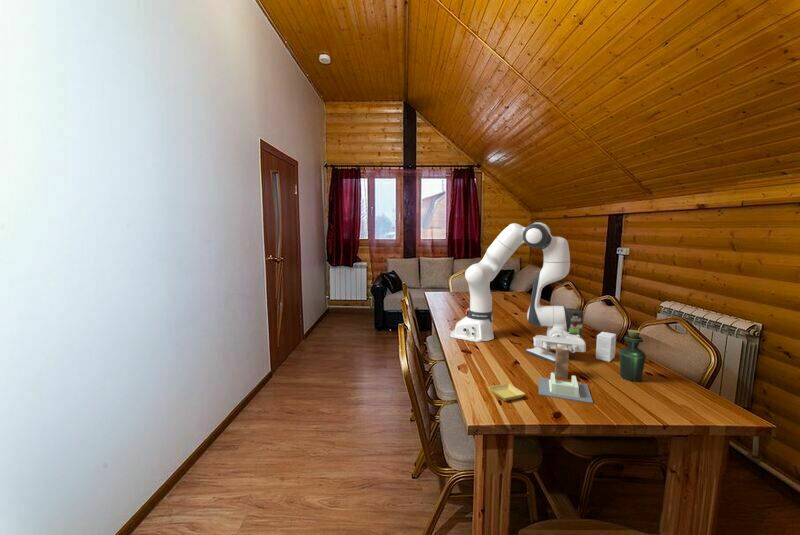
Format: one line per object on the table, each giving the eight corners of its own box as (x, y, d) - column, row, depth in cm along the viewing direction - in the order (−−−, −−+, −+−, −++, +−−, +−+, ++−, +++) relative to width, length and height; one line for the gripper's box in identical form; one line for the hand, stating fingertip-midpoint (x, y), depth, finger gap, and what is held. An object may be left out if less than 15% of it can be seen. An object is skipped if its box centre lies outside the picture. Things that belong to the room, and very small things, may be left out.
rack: (549, 392, 113) (550, 383, 113) (548, 380, 122) (549, 372, 122) (579, 397, 110) (580, 388, 109) (576, 384, 119) (577, 376, 119)
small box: (600, 354, 151) (602, 331, 150) (615, 357, 147) (616, 333, 146) (595, 358, 145) (596, 335, 144) (609, 362, 141) (611, 337, 140)
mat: (538, 394, 112) (538, 393, 112) (538, 378, 125) (538, 377, 125) (593, 403, 107) (593, 402, 106) (586, 385, 119) (587, 384, 119)
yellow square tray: (508, 388, 118) (508, 382, 118) (525, 399, 110) (526, 393, 110) (487, 392, 115) (488, 386, 115) (503, 404, 107) (504, 398, 107)
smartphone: (568, 361, 144) (536, 349, 158) (568, 357, 144) (536, 346, 157) (554, 365, 139) (523, 352, 153) (555, 361, 139) (523, 349, 153)
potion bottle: (638, 384, 120) (641, 335, 118) (613, 376, 127) (616, 330, 125) (648, 379, 124) (651, 332, 122) (623, 371, 131) (627, 326, 129)
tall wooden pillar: (555, 377, 126) (557, 348, 125) (554, 371, 131) (556, 343, 130) (567, 379, 124) (569, 349, 123) (566, 373, 130) (567, 344, 129)
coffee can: (585, 340, 170) (586, 313, 168) (563, 339, 171) (564, 312, 170) (577, 334, 180) (579, 308, 178) (557, 333, 182) (558, 307, 180)
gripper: (533, 330, 154) (533, 338, 141) (583, 335, 146) (588, 344, 134) (532, 343, 155) (532, 353, 142) (582, 349, 147) (587, 360, 134)
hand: (559, 349), depth 138 cm, fingers open, 8 cm apart
